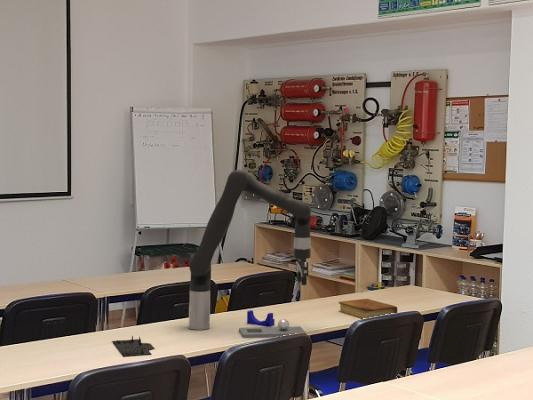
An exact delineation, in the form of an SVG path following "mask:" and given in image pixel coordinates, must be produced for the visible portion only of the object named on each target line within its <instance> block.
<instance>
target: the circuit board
mask: <svg viewBox="0 0 533 400" xmlns="http://www.w3.org/2000/svg"><path fill="white" fill-rule="evenodd" d="M112 342H113V343H112ZM111 343H112V344H113V346H115V348H116V349H117V351H118V352H119V353H120V355H121V356H122V357H123V358H129V357H131V358H132V357H143V356H152V353H151V350H152V351H153V350H155V346H153V345H152V344H151V343H149V342H148V343H147V342H142V339H141V337H140V336H139V337H138V339H137V338H136V339H134V336H133V335H131V339H122V340H121V339H117V340H112V341H111Z"/></svg>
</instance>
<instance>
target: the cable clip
mask: <svg viewBox="0 0 533 400" xmlns="http://www.w3.org/2000/svg"><path fill="white" fill-rule="evenodd" d="M246 313H247V315H246V324H247V325H253V326H259V327H274V326H275V318H274V313H273V312H269V313H267V315H266V318H265V319H264V320H259V319H258V318H256V316H255V314H254V310H253V309H252V310H247V312H246Z"/></svg>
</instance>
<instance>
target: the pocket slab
mask: <svg viewBox="0 0 533 400" xmlns="http://www.w3.org/2000/svg"><path fill="white" fill-rule="evenodd" d="M238 332H239V334H240V336H241V337H242V339H254V338H255V339H256V338H257V339H258V338H263V339H264V338H277V337H276V336H283V335H289V334H295V333H306V334H307V332H306V331H305V330H304V329H303V327H302V326H301V325H300V326H298V325H297V326H289V327H288V329H287V330H281V329H279V327H278V326H271V327H267V326H256V327H255V326H254V327H248V326H247V327H238Z"/></svg>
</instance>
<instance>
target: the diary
mask: <svg viewBox="0 0 533 400" xmlns="http://www.w3.org/2000/svg"><path fill="white" fill-rule="evenodd" d="M338 304H339V305H340V307H339V308H340V309H339V310H338V313H341V314H344V315H348V316H351V317H354V318H357V319H360V320H363V318H369V317H374V316H380V315H385V314H391V313H397V314H398V307H397V306H396V305H392V304H389V303H384V302H381V301H377V300H374V299H370V298H361V299H352V300H343V301H338Z"/></svg>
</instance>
